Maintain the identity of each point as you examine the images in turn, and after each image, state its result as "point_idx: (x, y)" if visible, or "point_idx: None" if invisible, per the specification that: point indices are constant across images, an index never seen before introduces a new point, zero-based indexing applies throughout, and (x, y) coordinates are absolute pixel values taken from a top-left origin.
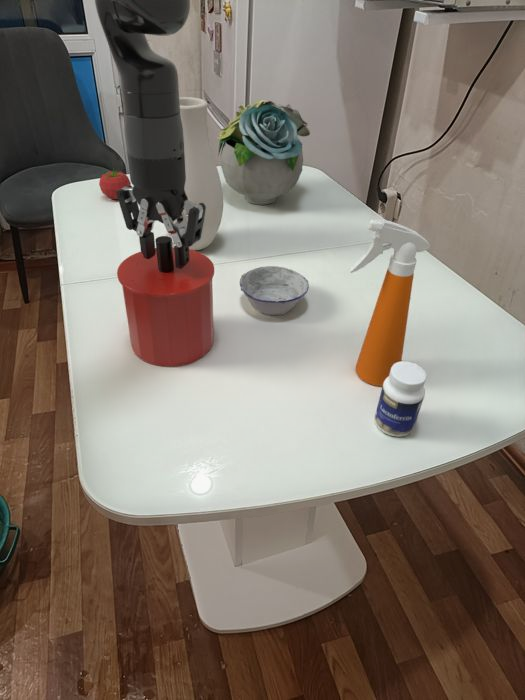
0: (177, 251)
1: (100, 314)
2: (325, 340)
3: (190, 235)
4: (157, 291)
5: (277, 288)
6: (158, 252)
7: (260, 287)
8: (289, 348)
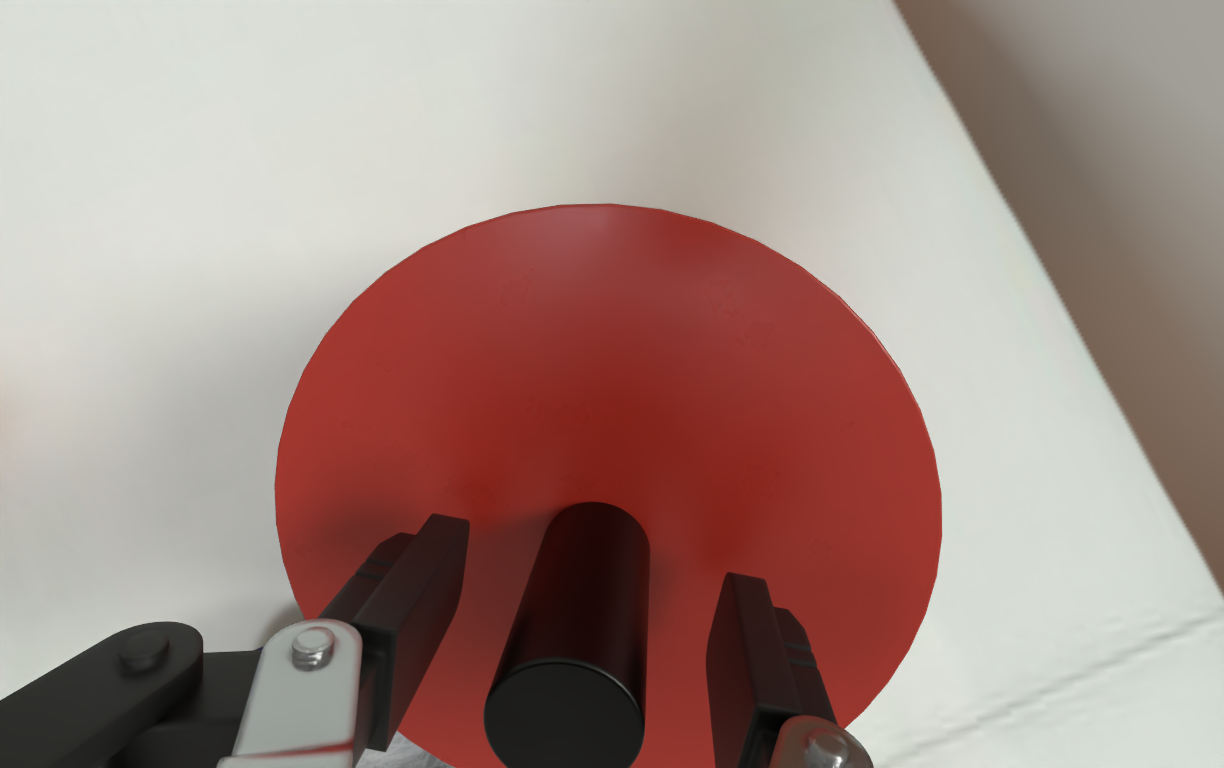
0: (381, 598)
1: (986, 457)
2: (129, 540)
3: (16, 724)
4: (517, 258)
5: (374, 765)
6: (603, 594)
7: (430, 755)
8: (218, 464)
